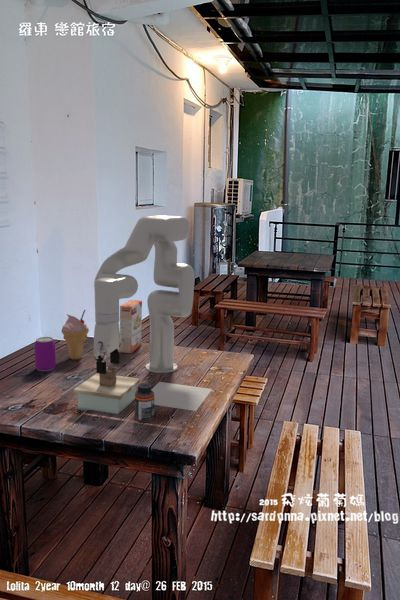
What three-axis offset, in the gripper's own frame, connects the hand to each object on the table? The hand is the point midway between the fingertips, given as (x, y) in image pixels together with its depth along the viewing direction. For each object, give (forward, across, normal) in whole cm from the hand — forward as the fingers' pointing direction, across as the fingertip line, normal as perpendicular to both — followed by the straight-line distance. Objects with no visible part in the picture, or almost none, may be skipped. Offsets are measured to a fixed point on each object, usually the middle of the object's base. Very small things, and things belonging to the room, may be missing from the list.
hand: (108, 368), depth 170 cm
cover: (+6, +1, 0) cm, 6 cm away
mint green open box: (+12, +1, 0) cm, 12 cm away
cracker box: (+14, -58, -18) cm, 63 cm away
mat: (+13, -13, +19) cm, 26 cm away
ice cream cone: (+13, -38, -34) cm, 53 cm away
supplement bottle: (+12, +7, +16) cm, 21 cm away
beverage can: (+13, -22, -38) cm, 46 cm away
